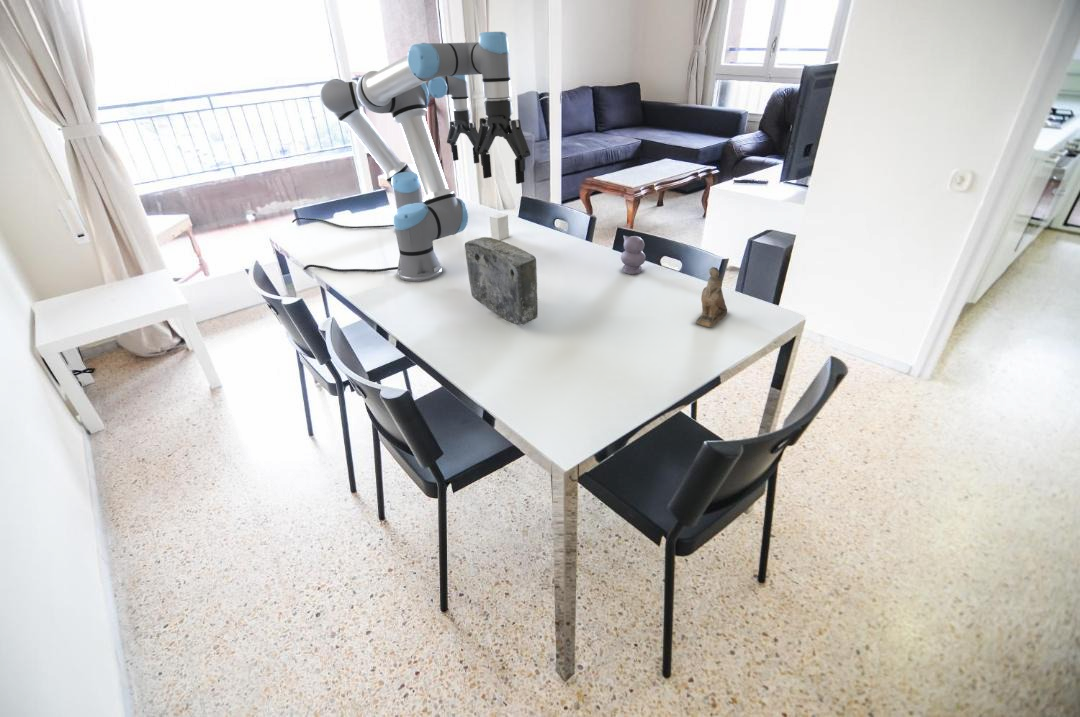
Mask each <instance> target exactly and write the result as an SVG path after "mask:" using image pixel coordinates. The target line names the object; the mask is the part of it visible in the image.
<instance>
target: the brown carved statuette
mask: <svg viewBox="0 0 1080 717" xmlns="http://www.w3.org/2000/svg"><path fill="white" fill-rule="evenodd" d="M708 273H709V275H710V276H709V278H708V279H707V280H708V281H707V284H706V286H705V287H704V288H703V290H702V292H701V297H700V298H701V309H702V312H701V315H700V316H699V317H698V318H697V319H696V321H695V324H696V325H699V326H703V327H705V328H712V327H714V326H715V325H716V324H717V323H719V321H721V320H722V319H723V318H725V317H726V316H727V315H728V307H727V304H726V301H725V298H724V293H723V290H722V287H723V281H722V279H721V278H720V270H719V269H718V268H717V267H715V266H712V267H711V268H710V269H709V270H708Z"/></svg>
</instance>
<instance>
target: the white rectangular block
mask: <svg viewBox="0 0 1080 717" xmlns="http://www.w3.org/2000/svg"><path fill="white" fill-rule="evenodd" d="M489 224H490V236H491V237H490V238H493V239H497V240H500V241H502V240H504V239H507V238H509V237H510V230H509V229H510V228H509V216H508V214H504V213H497V214H493V215H491V216H489Z"/></svg>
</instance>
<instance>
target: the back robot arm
mask: <svg viewBox="0 0 1080 717" xmlns="http://www.w3.org/2000/svg"><path fill="white" fill-rule="evenodd" d="M425 83H426V86H427V88H428V92H429V97H428V98H429V99H442V98H443V97H445V96H450V101H451V102H450V103H451V109H452V119H453V120H452V121H449V129H448V133H447V140H446V143H447V144H449V146H450V151H451V154H452V161H453V162H454V161H455V162H456V161H459V153H458V152H459V151H458V150H459V149H458V144H457V142H458V139H459V137H460V135H461V134H465V136H466V137H467V138H468V140H469V142H470V143H471V145H472V157H473V158H472V159H473V164H479V163H480V154H479V152H475V145H476V141H477V136H478V132H479V131H478V129H477V126H476V122H470V120H471V111H470V110H469V109H470V101H469V100H470V98H469V88H468V78H467V75H457V76H442V77H436V78H434V79H432V80H430V81H427V82H425ZM356 88H357V83H356V82H355V81H345V80H342V79H339V78H332V79H330V80H328V81H326V82H325V83H323V85H322V86H321V88H320V90H319V91H320V92H319V96H320V100H321V103H322V105H323V106H324V107H325V109H327V111H329V112H331V113H333V114H334V116H335V117H336V118H337V119H338V121H339V122H340V123H344V124H345V125H346V124H347V127H348V128H349V129H350V130H351V132H353V134H354V135H355V137H356V138H357V139H358V140H359V142H360V143H361V144H362V145H363V146H364V148H365V149H366V150H367V152H368V153H369V154H370V155H371V157H372V158H373V159H374V161H375V162H376V163H377V165H378V166H379V167H380V169H381V170H382V171H383V172H384V174H385V175H384V179H385V180H386V182H387V183H388V184H389V185H390V187H391V188H392V190H393V194H394V195H393V197H394V202H395V206H396V210H397V209H398V208H400V207H402V206H404V205H407V204H413V203H423V200H424V198H423V192H422V186H421V183H420V180H419V177H418V174H417V173H415V172H414V171H413V170H412V169H411V168H410V166H409V165H408V163H407V162H406V161H401V160H400V159H399V157H398V156H397V154H396V153H395V152H394V151H393V149H392V148H391V147H390V145H389V144H388V143H387V141H386V140H385V138H384V137H383V136H382V135H381V133H380V132H379V131H378V129H377V128H376V127H375V125H374V124H373V123H372V121H371V120H370V118H369V117H368V116H367V114H366V113H365V112H364V106H363V104H362V103H361V102H360V100H359V98H358V96H357V91H356ZM479 147H480V146H479ZM298 220H306V221H316V222H317V221H318V222H322V223H326V224H330V225H332V226H335V227H339V228H345V229H369V228H370V229H374V228H391V227H392V228H393V227H394V224H386V225H361V226H352V225H351V226H349V225H341V224H337V223H334V222H331V221H327V220H324V219H320V218H309V217H297V218H294V219H293V220H292V221H291V223H295V222H296V221H298Z"/></svg>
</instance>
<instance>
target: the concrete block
mask: <svg viewBox="0 0 1080 717" xmlns="http://www.w3.org/2000/svg"><path fill="white" fill-rule="evenodd" d="M464 249H465V250H464V252H465V258H466V265H467V273H468V281H469V287H470V294H471V296H472V298H473V299H474V300H476V301H477V302H479V303H480V304H481V305H483V306H484V307H486V308H487V309H488V310H490V311H491V312H493V313H494V314H496V315H497V316H499V317H500V318H502V319H503V320H505V321H507V322H510V323H511V324H514V325H518V326H522V325H525V324H528V323H530V322H532V321H534V320H536V319H537V318H538V317H539V306H538V300H539V299H538V273H537V272H538V271H537V270H538V268H537V258H536V256H535V255H533V254H531V253H529V252H528V251H526V250H524V249H523V248H520V247H518V246H516V245H513V244H510V243H507V242H506V241H503V240H497V239H493V238H491V237H487V236H483V237H479V238H478V237H477V238H474V239H471V240H468V241H466V242H465V243H464Z"/></svg>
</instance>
